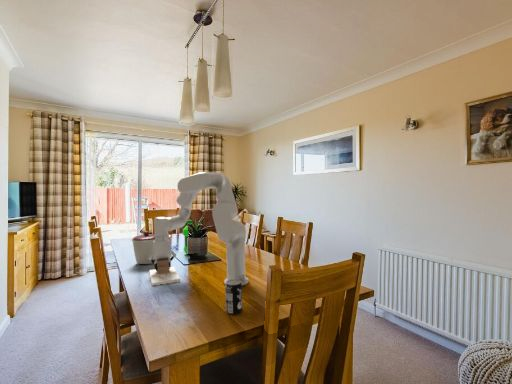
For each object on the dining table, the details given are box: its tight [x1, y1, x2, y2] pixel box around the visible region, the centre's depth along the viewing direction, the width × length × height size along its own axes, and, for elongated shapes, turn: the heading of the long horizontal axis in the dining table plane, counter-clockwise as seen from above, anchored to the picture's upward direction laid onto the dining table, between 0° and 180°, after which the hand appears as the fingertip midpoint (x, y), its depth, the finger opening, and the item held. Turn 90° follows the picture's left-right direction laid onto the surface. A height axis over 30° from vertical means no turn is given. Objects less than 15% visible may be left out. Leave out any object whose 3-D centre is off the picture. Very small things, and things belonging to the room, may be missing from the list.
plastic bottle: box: [182, 219, 194, 255], centre depth 200 cm, size 10×10×25 cm
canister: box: [131, 230, 155, 265], centre depth 181 cm, size 18×18×21 cm
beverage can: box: [224, 279, 243, 316], centre depth 108 cm, size 7×7×12 cm
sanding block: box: [157, 258, 169, 275], centre depth 157 cm, size 10×6×7 cm, turn 24°
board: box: [148, 266, 181, 287], centre depth 152 cm, size 24×14×2 cm, turn 24°
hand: (162, 269), depth 157 cm, fingers closed on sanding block, 6 cm apart
